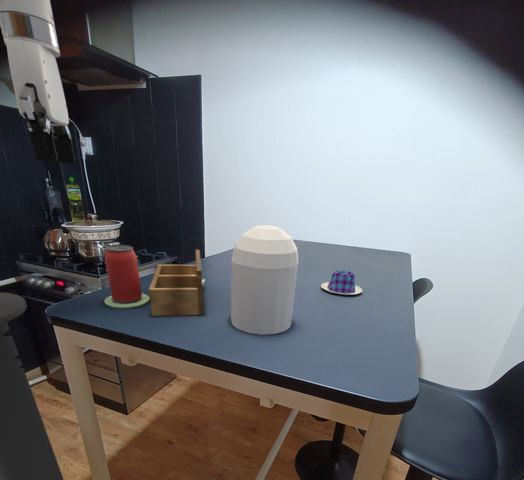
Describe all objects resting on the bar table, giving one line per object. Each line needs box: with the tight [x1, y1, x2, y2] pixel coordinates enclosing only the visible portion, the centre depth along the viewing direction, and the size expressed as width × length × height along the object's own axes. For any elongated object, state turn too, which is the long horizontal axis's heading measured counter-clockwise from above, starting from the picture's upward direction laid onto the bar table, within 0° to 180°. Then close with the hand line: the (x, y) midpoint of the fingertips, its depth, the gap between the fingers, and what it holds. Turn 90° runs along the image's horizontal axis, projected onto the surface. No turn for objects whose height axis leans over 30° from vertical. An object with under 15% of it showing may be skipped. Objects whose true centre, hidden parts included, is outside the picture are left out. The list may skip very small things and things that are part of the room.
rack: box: [148, 249, 204, 317], centre depth 77 cm, size 11×21×10 cm, turn 11°
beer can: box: [104, 244, 143, 303], centre depth 73 cm, size 7×7×12 cm
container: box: [230, 224, 299, 336], centre depth 65 cm, size 14×13×20 cm
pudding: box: [320, 269, 364, 296], centre depth 92 cm, size 12×12×5 cm
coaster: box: [104, 292, 150, 310], centre depth 76 cm, size 10×10×1 cm
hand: (57, 161), depth 59 cm, fingers open, 9 cm apart
